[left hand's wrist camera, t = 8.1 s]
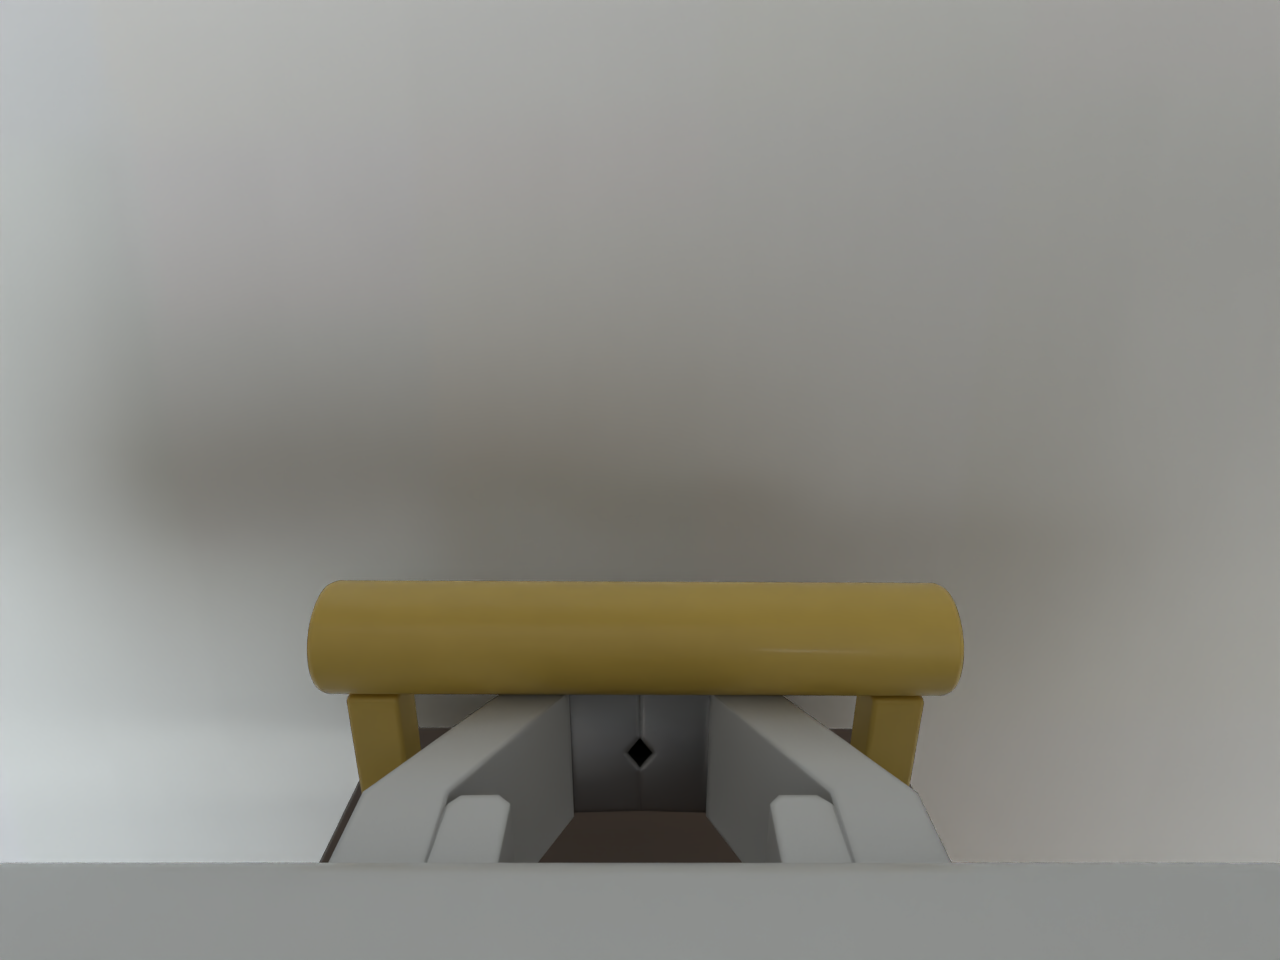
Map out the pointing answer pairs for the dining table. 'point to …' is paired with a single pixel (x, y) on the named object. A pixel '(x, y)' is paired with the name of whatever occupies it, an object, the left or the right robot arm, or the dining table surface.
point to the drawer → (631, 668)
